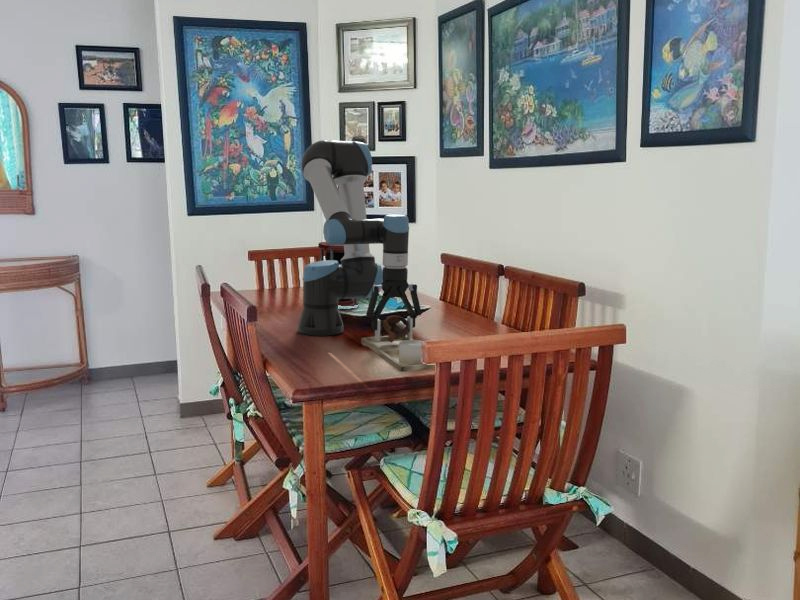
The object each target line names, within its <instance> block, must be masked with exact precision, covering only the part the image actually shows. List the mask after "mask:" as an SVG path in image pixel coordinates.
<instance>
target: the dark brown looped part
mask: <svg viewBox="0 0 800 600" xmlns="http://www.w3.org/2000/svg"><path fill="white" fill-rule="evenodd" d="M378 319H379V320H381V321H380V336H382V337H383V336H389V337H388V338H387V339H388V341H389V342H391V343H392V342H393V341H394V339H395V340H396V339H400V338H403V337H405V336H406V335H407V334H408V332H409V331H410V330H409V324H408V321H407V318H405V317H402V316H400V315H389V316H387V317H386V318H385V319H383V320H382V319H380V318H378ZM400 322H402V323H403V325H404V326H405V327H404V328H402V329H401V328H400V329H399V328H396V325H397V324H399V323H400ZM370 326H371V327H372V322H371V323H370ZM373 331H374V332H375V330H373Z"/></svg>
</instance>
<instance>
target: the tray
mask: <svg viewBox="0 0 800 600" xmlns="http://www.w3.org/2000/svg"><path fill="white" fill-rule="evenodd" d="M388 337H389V335H384V336H383V337H382V335H380V341H376V340H375V336H367V337H360V344H361V345H362V346H363V347H368V348H369V349H370V350H371V351H373V352H374V353H376V354H377V355H378V356H380V357H381V358H383V360H385V361H387V362H388V363H389V364H390V365H392V366H393V367H394V368H396V369H398V370H399V371H400V372H413V371H414V372H415V371H424V370H435V369H434V368H435V365H427V364H419V365H408V364H403V363H401V362H399V343H400V342H401V341H405V340H415V339H414V338H412V339H409V338H407V335H406V336H405V337H403V338H400V339H396V340H395V339H394V341H393V342H392V343H391V342H389V341H388V339H387V338H388Z"/></svg>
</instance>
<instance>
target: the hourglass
mask: <svg viewBox="0 0 800 600" xmlns="http://www.w3.org/2000/svg"><path fill="white" fill-rule="evenodd" d="M317 247H318V248H319V249H320V261H324V260H327V261H328V260H335V261H338V263H339V265H341V259H342V258H343V257H344V255H345V253H344V245H337V244H328V243H327V242H326V241H320V242H318V245H317ZM324 252H325V254H324ZM324 257H325V259H324ZM358 304H359V305H360V301H358V298H353V299H339V300H338V305H341V306H354V305H358Z"/></svg>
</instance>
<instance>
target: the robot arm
mask: <svg viewBox="0 0 800 600" xmlns="http://www.w3.org/2000/svg"><path fill="white" fill-rule="evenodd" d="M301 157H302V158H301V162H300V163H301V167H300V168H301V172H302V175H303V177H304V179H305V180H306V181H307V182H309V183H310V187H311V188H312V191H313V192H314V196H315V198H316V199H317V202H318V205H319V207H320V209H321V212H322V214H323V216H324V218H325V222H324V223H323V231H322V233H323V239H324V242H327V243H328V244H337V245H344V253H345V255H344V257H343V258H342V259H341V265H339V263H338V261H335V260H328V261H327V260H326V259H324V261H321V260H318V261H313V262H310V263H307V264H306V265H305V266H304V268H303V275H302V283H303V285H302V287H303V288H302V291H303V292H302V293H303V294H302V296H303V297H302V300H303V304H302V306H303V307H302V308H303V309H302V311H301V314H300V317H299V321H298V324H297V331H298V333H300V334H302V335H306V336H315V337H319V336H320V337H325V336H326V337H327V336H336V335H338V334H341V333H343V332H344V323H343V320H342V315H341V313H340V310H339V309H338V300H339V299H353V300H354V298H357V299H366V298H370V300H369V302H368V307H367V311H366V314H365V316H366V317H367V318H369V319H371V323H372V326H371V329H372V330H373V331H374V330H375V331H374V337H375V340H376V341H380V336H381V335H380V321H381V320H382V319H380V316H381V314H382V313H383V310H384V308H385V307H386V306H387V303H388V302H389V301H390V299H395V298H398V299H399V298H400V299H401V301H402V303H403V305H404V307H405V309H406V311H407V313H408V314H409V316H407V318H406V320H407V321H408V324H409V330H410V331H409V332H408V334H407V338H409V339H413V329H414V328H416V319H417V318H418V316H421V315H422V313H423V312H422V309H421V305H420V300H419V296H418V293H417V292H418V285H417V284H416V283H414V282H412V283H408V276H409V275H408V267H407V266H408V265H409V233H410V225H409V222H410V221H409V217H408V216H407V215H405V214H386V215H384V217H381V218H379V217H375V218H371V219H370V218H367V210H366V199H365V188H364V184H365V183H366V181H367V180H368V176H370V175H371V172H372V171H373V170H372V169H373V168H372V167H373V159H372V153H371V151H370V148H369V147H368V146H367V144H366V143H364V142H361V141H355V140H349V141H348V140H326V139H325V140H324V139H323V140H322V139H321V140H318V141H316V142H314V143H312V144H310V145H309V146H308V147H307V148H306V150H305V152H304V153H303V155H302V156H301ZM371 244H373V245H376V244H379V245H380V244H381V245H382V265H383V266H384V267H382V266H381V264H380V263H379V262H376V259H375V256H374V255H373V254H371V252H370V250H371V249H370V245H371ZM381 290H382V291H383V293H382V294H381V298H380V300H379V302H378V304H377V301H378V299H379V294H380V293H381ZM407 290H409V292H410V297H411V301H412V304H411V302H410V301H409V299H408V296H407V294H406V291H407ZM376 305H377V306H376ZM412 305H413V306H412ZM379 319H380V320H379Z"/></svg>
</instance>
